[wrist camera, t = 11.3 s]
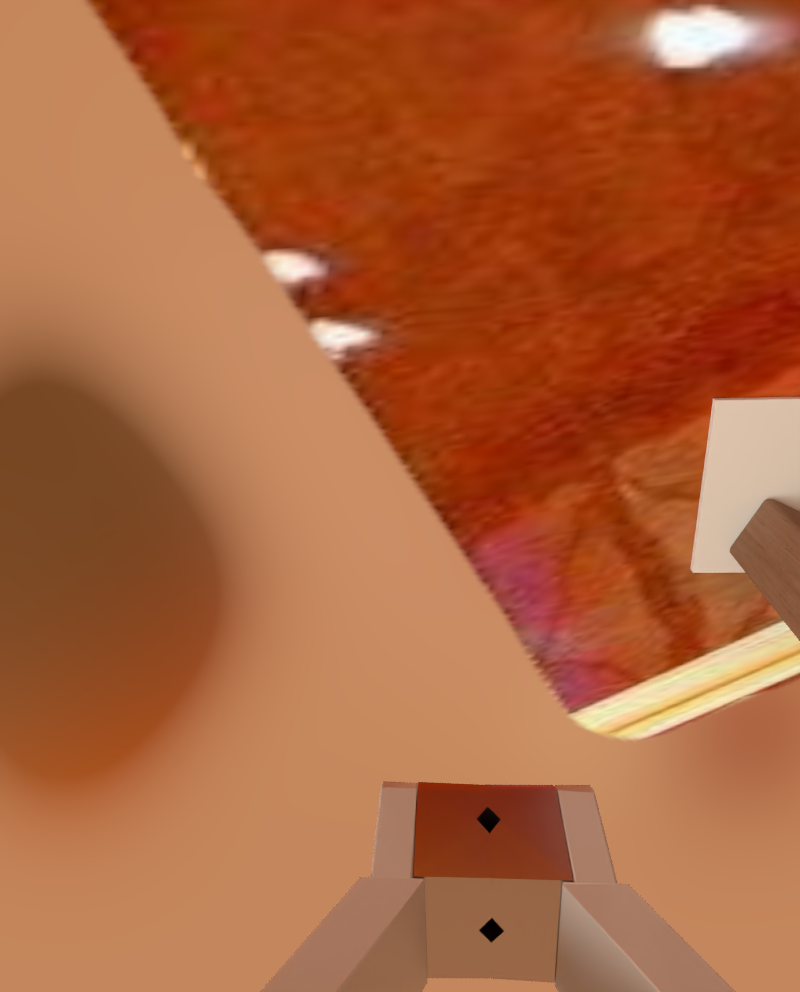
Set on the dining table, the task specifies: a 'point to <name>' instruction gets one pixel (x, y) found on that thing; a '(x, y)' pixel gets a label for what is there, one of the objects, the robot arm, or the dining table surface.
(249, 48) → the dining table surface
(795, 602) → the wooden block
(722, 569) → the mat
